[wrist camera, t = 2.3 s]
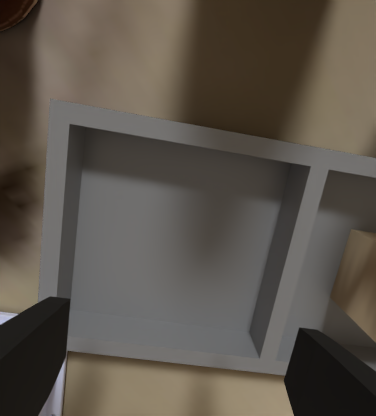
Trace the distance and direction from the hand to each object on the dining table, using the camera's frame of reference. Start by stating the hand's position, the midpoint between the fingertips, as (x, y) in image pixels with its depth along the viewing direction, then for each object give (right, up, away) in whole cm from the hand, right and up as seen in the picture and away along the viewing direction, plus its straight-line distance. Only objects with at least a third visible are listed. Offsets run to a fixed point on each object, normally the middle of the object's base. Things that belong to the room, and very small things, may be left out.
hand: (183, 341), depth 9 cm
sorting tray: (+6, +1, +10) cm, 12 cm away
